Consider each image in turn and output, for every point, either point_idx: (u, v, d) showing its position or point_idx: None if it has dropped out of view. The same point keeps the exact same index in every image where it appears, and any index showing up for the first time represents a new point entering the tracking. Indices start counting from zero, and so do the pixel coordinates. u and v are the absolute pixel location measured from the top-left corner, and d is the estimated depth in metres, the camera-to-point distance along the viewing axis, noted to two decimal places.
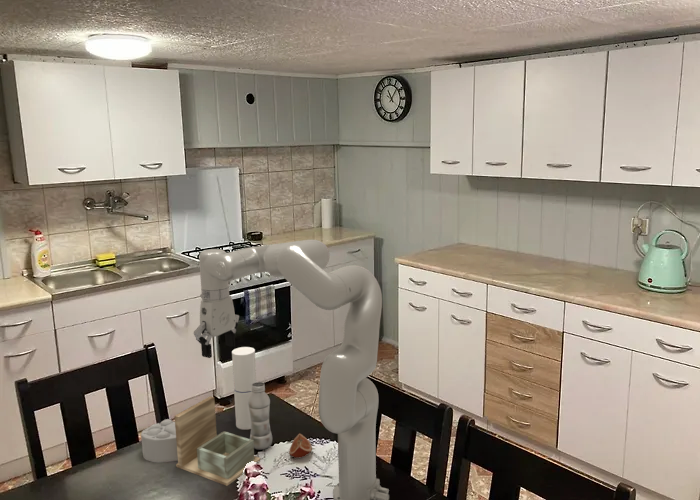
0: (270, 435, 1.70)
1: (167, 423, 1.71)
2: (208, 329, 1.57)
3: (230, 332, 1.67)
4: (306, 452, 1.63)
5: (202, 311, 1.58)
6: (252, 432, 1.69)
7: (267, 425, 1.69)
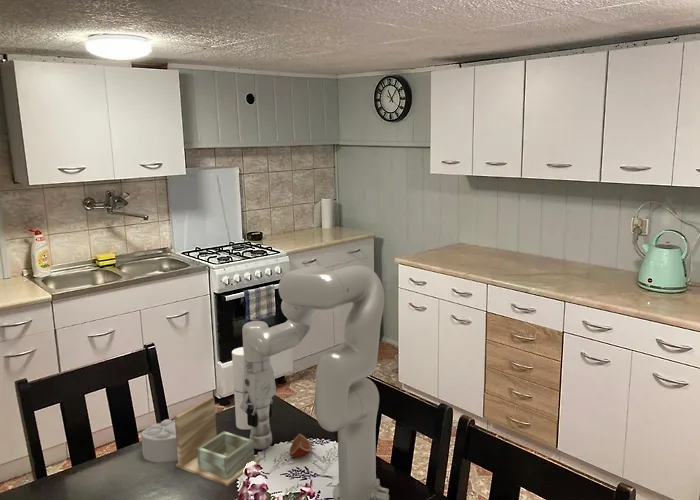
0: (270, 435, 1.70)
1: (167, 423, 1.71)
2: (251, 399, 1.63)
3: None
4: (306, 452, 1.63)
5: (245, 382, 1.64)
6: (252, 432, 1.69)
7: (267, 425, 1.69)
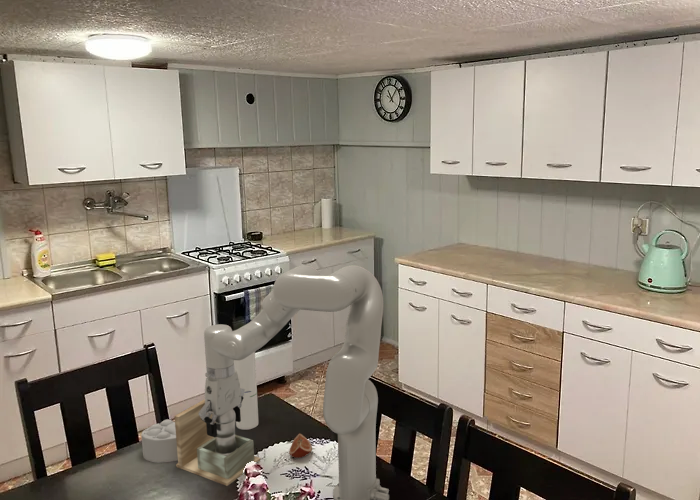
0: None
1: (167, 423, 1.71)
2: (213, 408, 1.53)
3: (235, 407, 1.62)
4: (306, 452, 1.63)
5: (207, 389, 1.54)
6: (217, 448, 1.59)
7: (233, 441, 1.59)
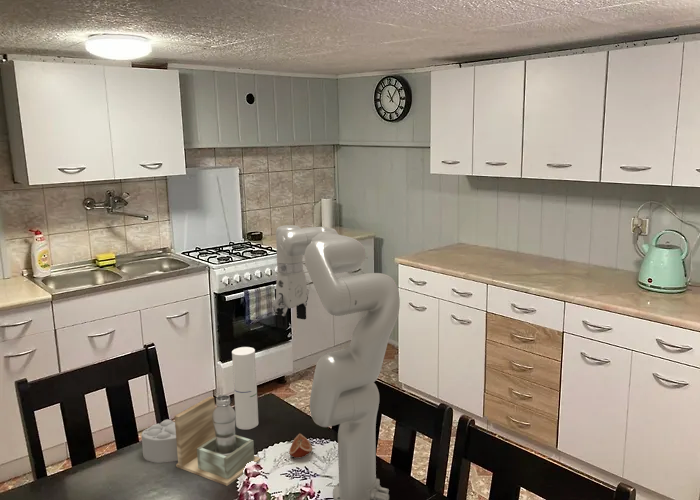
0: None
1: (167, 423, 1.71)
2: (285, 301, 1.65)
3: (301, 305, 1.75)
4: (306, 452, 1.63)
5: (278, 284, 1.66)
6: (217, 448, 1.59)
7: (233, 441, 1.59)
